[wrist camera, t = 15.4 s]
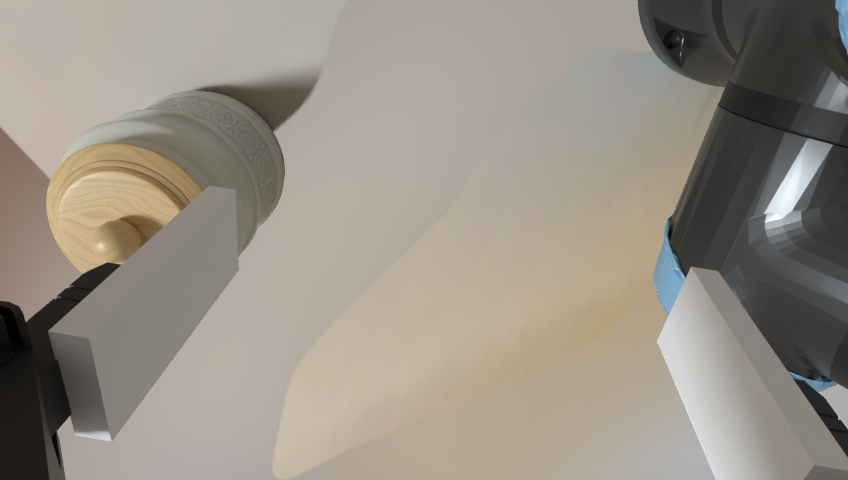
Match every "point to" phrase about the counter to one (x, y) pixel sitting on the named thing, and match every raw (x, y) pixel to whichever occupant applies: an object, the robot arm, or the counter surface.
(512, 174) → the counter surface
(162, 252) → the robot arm
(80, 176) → the jar
